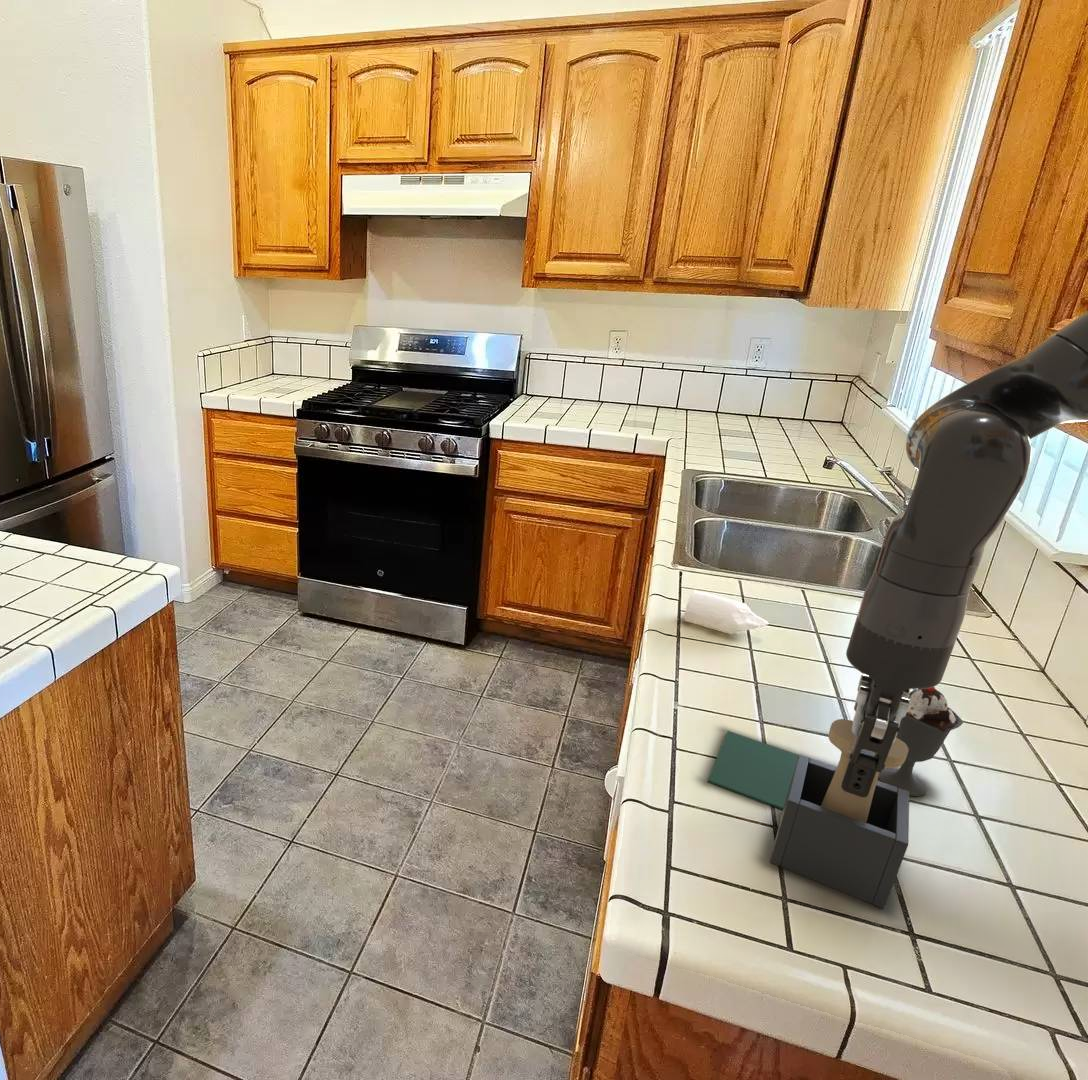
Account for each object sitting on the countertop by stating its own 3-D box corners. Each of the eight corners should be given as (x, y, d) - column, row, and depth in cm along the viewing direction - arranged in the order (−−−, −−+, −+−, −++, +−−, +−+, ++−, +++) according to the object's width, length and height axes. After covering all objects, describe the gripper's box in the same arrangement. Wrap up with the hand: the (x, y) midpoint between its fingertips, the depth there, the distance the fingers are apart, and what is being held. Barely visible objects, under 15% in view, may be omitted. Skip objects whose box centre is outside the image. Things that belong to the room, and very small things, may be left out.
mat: (851, 774, 91) (852, 772, 91) (843, 833, 82) (844, 831, 82) (727, 732, 98) (727, 730, 98) (707, 781, 89) (707, 779, 89)
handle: (857, 888, 75) (902, 764, 69) (788, 852, 79) (824, 733, 73) (869, 862, 78) (913, 742, 72) (802, 829, 82) (838, 713, 76)
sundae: (881, 757, 94) (917, 652, 89) (943, 787, 89) (986, 678, 84) (858, 777, 91) (894, 669, 85) (922, 809, 86) (964, 697, 80)
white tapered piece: (758, 650, 119) (766, 618, 117) (681, 626, 126) (687, 595, 124) (767, 636, 123) (775, 605, 121) (692, 613, 130) (699, 584, 128)
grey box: (887, 852, 79) (909, 791, 76) (884, 909, 72) (908, 844, 69) (781, 812, 84) (799, 753, 81) (769, 862, 77) (787, 800, 75)
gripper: (960, 671, 61) (898, 836, 67) (953, 607, 72) (901, 754, 78) (852, 643, 65) (804, 801, 71) (862, 587, 76) (820, 728, 82)
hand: (855, 775), depth 75 cm, fingers closed on handle, 5 cm apart
